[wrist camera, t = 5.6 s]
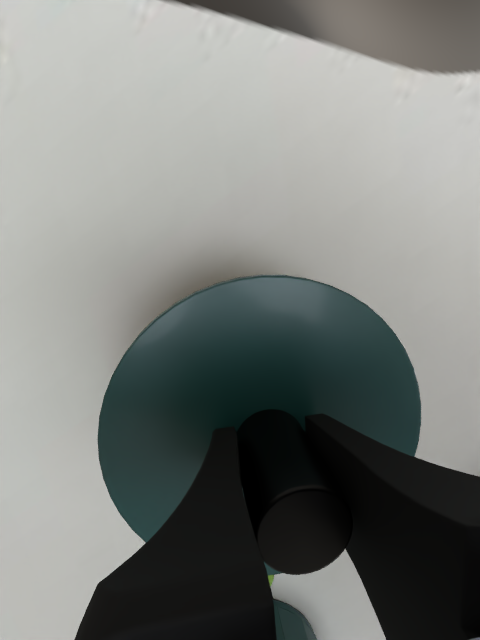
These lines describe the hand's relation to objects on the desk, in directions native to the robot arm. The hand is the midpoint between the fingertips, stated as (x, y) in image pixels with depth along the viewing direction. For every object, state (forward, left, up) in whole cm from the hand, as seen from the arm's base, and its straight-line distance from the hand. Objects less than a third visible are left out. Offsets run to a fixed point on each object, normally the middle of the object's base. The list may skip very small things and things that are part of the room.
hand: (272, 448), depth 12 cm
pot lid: (0, 0, -1) cm, 1 cm away
